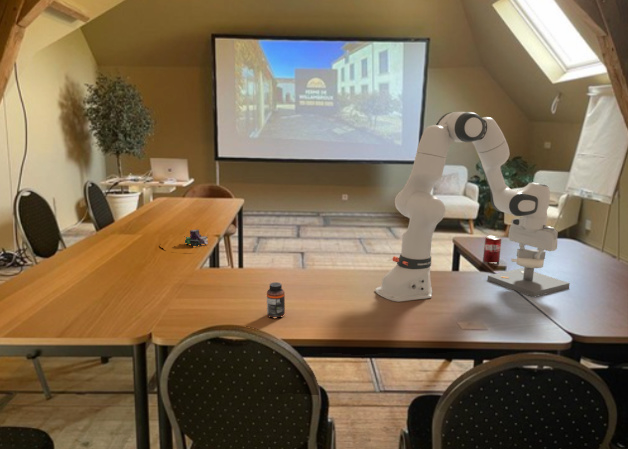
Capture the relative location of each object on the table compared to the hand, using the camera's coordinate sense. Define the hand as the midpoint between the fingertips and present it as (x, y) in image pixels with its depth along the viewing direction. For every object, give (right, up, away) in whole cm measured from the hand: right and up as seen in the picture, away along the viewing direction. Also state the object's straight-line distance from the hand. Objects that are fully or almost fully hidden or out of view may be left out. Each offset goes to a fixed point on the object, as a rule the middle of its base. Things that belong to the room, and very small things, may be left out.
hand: (530, 256), depth 195 cm
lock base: (0, -11, +3) cm, 12 cm away
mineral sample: (-150, +2, +56) cm, 160 cm away
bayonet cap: (0, -3, 0) cm, 3 cm away
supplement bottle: (-101, -18, -32) cm, 107 cm away
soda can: (-4, -5, +32) cm, 32 cm away
